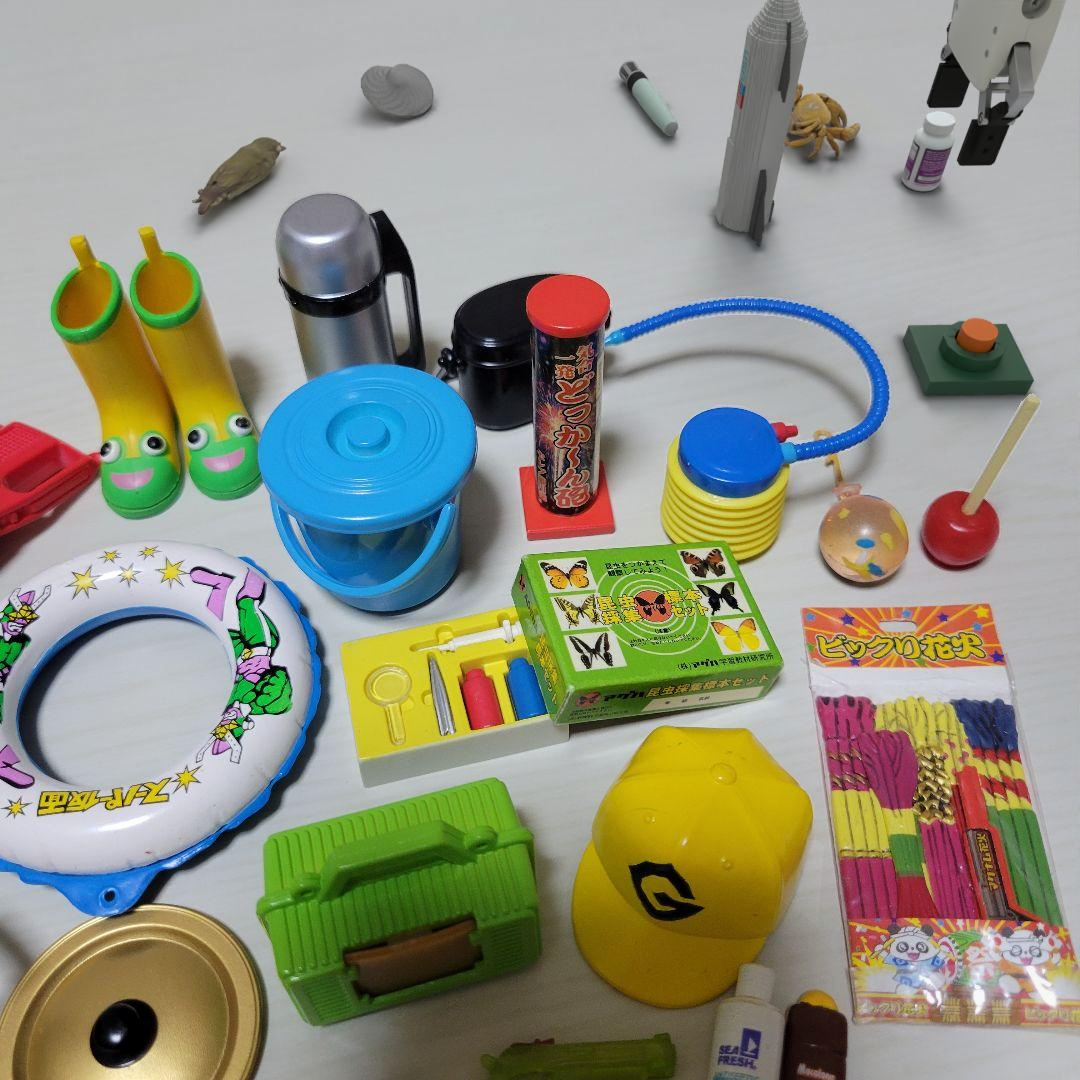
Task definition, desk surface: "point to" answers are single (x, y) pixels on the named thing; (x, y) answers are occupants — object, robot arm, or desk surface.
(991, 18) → the robot arm
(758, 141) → the rocket model
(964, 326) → the press button
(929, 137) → the pill bottle
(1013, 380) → the button box
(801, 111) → the crab model
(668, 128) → the flashlight
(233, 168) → the decorative bird model
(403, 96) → the seashell
